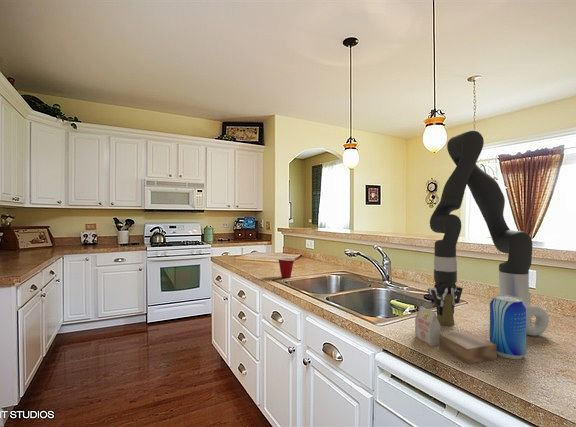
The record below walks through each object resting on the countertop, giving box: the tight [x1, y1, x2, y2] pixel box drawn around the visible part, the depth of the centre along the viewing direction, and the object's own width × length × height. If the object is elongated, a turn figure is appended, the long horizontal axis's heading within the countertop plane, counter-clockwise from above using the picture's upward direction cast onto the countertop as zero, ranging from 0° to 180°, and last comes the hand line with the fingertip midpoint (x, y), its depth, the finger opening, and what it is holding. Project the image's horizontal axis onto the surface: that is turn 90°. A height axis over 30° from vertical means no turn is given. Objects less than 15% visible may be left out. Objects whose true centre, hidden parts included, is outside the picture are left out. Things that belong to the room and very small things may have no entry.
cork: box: [436, 294, 455, 327], centre depth 109 cm, size 6×6×11 cm
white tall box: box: [414, 305, 441, 347], centre depth 94 cm, size 4×7×10 cm, turn 15°
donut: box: [526, 304, 550, 337], centre depth 98 cm, size 10×4×10 cm, turn 95°
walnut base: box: [438, 330, 498, 365], centre depth 86 cm, size 10×10×4 cm
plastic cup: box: [277, 257, 296, 279], centre depth 187 cm, size 11×11×12 cm
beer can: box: [489, 294, 527, 360], centre depth 86 cm, size 8×8×16 cm
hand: (445, 315), depth 109 cm, fingers closed on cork, 3 cm apart
